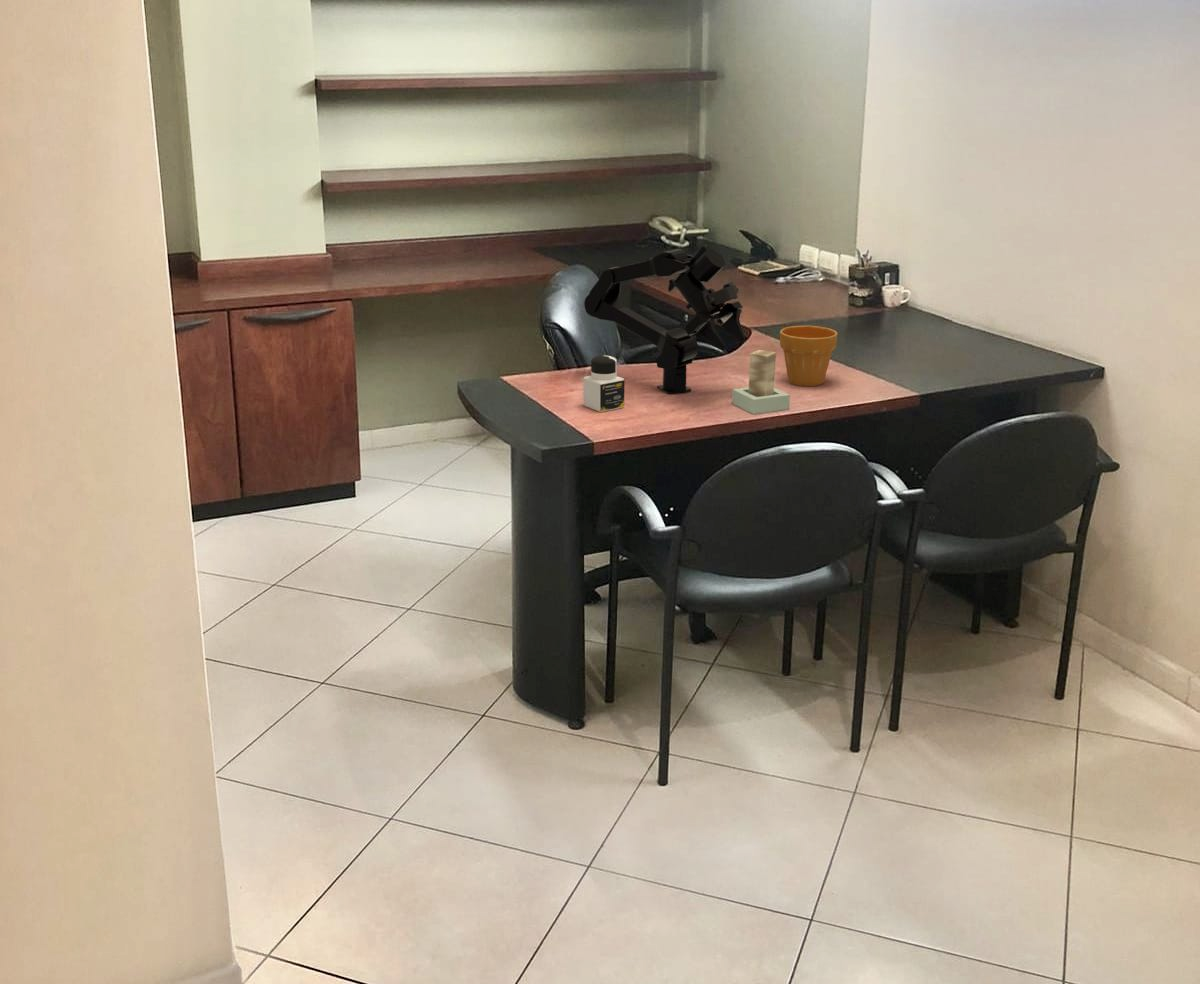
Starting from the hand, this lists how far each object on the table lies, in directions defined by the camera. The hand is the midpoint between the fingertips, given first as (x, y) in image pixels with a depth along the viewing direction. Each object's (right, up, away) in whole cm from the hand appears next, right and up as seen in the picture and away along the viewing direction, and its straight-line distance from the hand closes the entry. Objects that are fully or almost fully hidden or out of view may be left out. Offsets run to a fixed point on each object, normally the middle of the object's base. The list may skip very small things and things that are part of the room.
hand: (734, 345), depth 290 cm
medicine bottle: (-31, -15, 0) cm, 34 cm away
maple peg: (+6, -14, +1) cm, 16 cm away
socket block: (+6, -14, +1) cm, 16 cm away
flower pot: (+20, -7, +21) cm, 30 cm away
